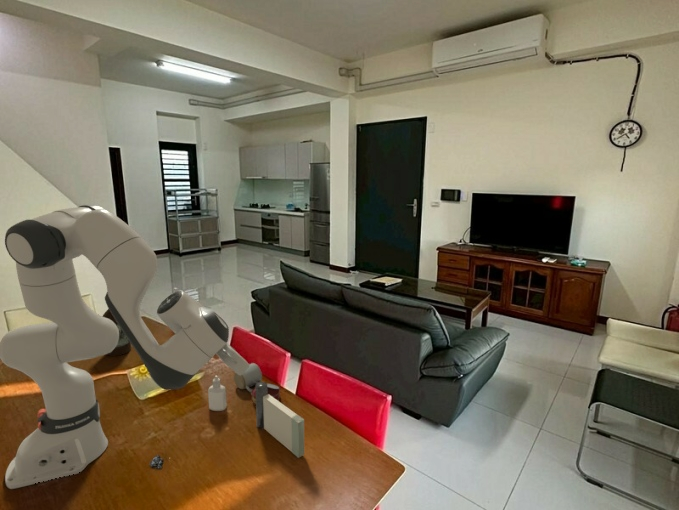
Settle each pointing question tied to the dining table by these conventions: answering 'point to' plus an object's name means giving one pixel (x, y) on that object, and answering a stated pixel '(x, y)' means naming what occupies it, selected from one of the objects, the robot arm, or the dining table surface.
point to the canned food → (271, 390)
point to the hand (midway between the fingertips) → (237, 361)
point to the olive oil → (123, 342)
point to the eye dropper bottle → (217, 396)
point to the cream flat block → (284, 425)
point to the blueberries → (157, 462)
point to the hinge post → (260, 403)
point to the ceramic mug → (248, 377)
